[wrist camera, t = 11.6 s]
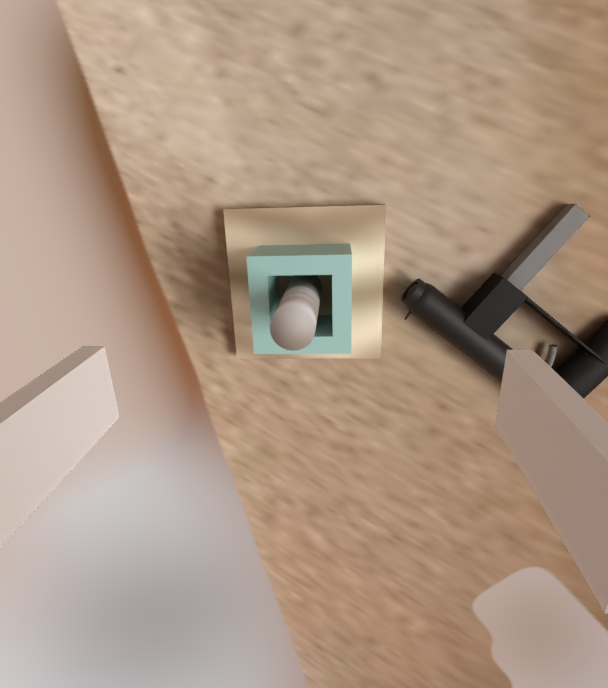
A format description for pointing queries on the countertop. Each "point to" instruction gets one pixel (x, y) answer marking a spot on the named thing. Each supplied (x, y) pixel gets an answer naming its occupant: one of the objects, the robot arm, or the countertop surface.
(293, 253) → the collar
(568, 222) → the black toy gun
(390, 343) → the countertop surface
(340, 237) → the peg stand
